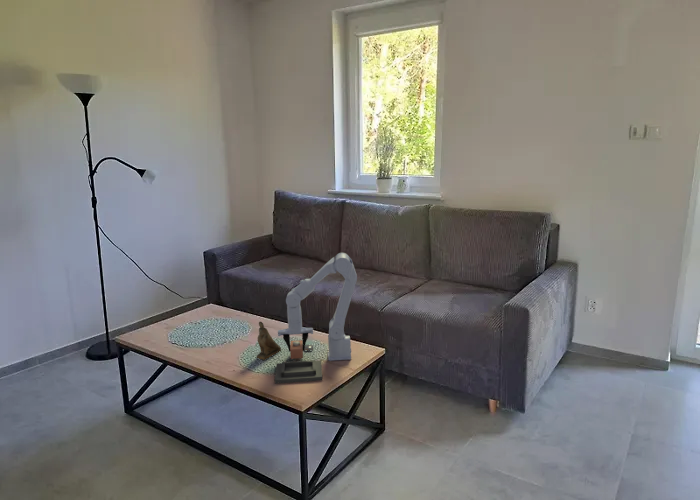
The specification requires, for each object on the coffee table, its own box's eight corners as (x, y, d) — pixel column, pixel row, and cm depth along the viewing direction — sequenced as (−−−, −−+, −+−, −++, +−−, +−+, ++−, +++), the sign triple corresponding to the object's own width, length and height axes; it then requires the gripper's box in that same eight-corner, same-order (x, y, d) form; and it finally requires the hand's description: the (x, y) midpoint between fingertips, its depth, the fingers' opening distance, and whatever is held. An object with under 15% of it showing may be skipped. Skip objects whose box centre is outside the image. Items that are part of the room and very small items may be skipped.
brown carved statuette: (265, 365, 209) (255, 329, 202) (255, 362, 212) (246, 326, 205) (283, 350, 218) (275, 315, 210) (274, 347, 221) (266, 312, 214)
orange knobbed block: (302, 348, 214) (302, 338, 212) (302, 358, 205) (302, 346, 204) (291, 349, 213) (290, 338, 212) (290, 358, 204) (290, 347, 203)
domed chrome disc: (313, 347, 220) (313, 344, 219) (313, 351, 216) (313, 348, 216) (304, 348, 219) (304, 345, 219) (304, 352, 216) (304, 348, 215)
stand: (321, 363, 203) (321, 357, 203) (322, 380, 190) (322, 373, 189) (277, 366, 202) (276, 360, 201) (274, 383, 188) (274, 376, 188)
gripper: (312, 315, 210) (313, 345, 213) (277, 317, 209) (279, 347, 212) (312, 321, 203) (314, 352, 206) (276, 323, 202) (279, 354, 205)
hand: (296, 350), depth 209 cm, fingers closed on orange knobbed block, 5 cm apart
